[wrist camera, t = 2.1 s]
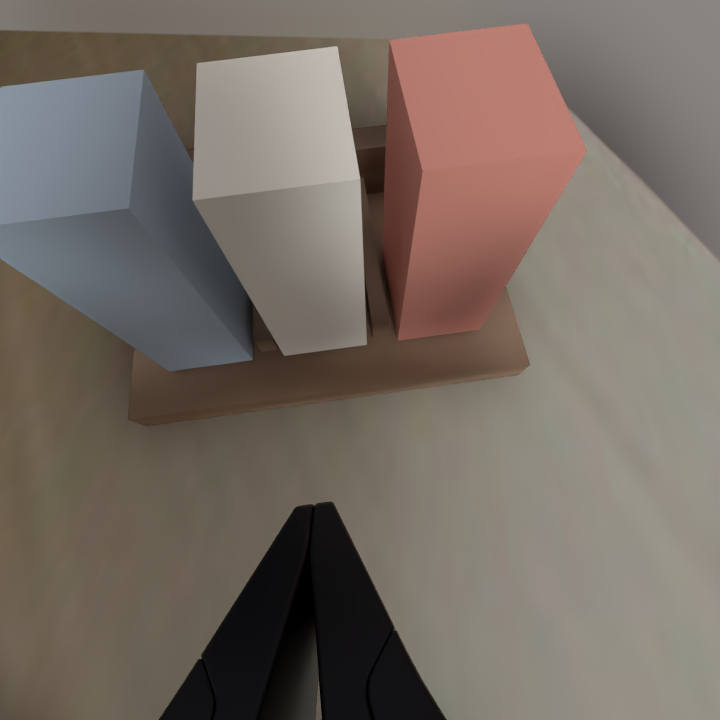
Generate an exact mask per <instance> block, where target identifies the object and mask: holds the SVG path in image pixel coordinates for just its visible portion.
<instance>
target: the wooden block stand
mask: <svg viewBox="0 0 720 720" xmlns="http://www.w3.org/2000/svg"><path fill="white" fill-rule="evenodd" d="M352 134H353V140H354V146H355V151H356V157H357V163H358V168H359V174H360V183H361V208H362V234H363V259H364V284H365V310H366V335H367V345H362V346H355V347H347V348H340V349H332V350H325V351H318V352H310V353H303V354H295V355H288V356H284V355H283V353H282V351H281V350H280V348H279V346H278V345H277V343H276V341H275V339H274V338H273V336H272V334H271V333H270V331H269V329H268V328H267V326H266V324H265V323H264V321H263V319H262V317H261V316H260V314H259V312H258V311H257V309H256V307H255V306H254V304H253V302H252V301H251V313H252V342H253V360H250V361H243V362H235V363H228V364H220V365H213V366H205V367H198V368H191V369H183V370H176V371H168V370H167V369H165V368H164V367H162V366H161V365H159V364H158V363H156V362H155V361H153V360H152V359H150V358H149V357H147V356H146V355H144V354H143V353H141V352H140V351H138V350H137V349H135V348H134V355H133V367H132V378H131V389H130V401H129V412H128V420H131V421H134V422H137V423H139V424H142V425H145V426H148V425H155V424H162V423H170V422H177V421H184V420H192V419H199V418H206V417H214V416H221V415H228V414H235V413H243V412H250V411H257V410H265V409H272V408H279V407H287V406H294V405H301V404H308V403H316V402H323V401H330V400H338V399H345V398H352V397H360V396H367V395H374V394H381V393H389V392H396V391H403V390H411V389H418V388H425V387H432V386H440V385H447V384H454V383H462V382H469V381H476V380H484V379H491V378H498V377H505V376H513V375H519V374H520V373H521V372H522V371H523V370H524V369H525V368H527V367H528V366H529V365H530V363H529V360H528V357H527V354H526V350H525V347H524V344H523V341H522V338H521V334H520V331H519V328H518V325H517V322H516V318H515V315H514V312H513V309H512V306H511V302H510V299H509V296H508V293H507V290H506V287H505V288H504V290H503V292H502V293H501V295H500V297H499V298H498V300H497V302H496V303H495V305H494V307H493V308H492V310H491V312H490V313H489V315H488V317H487V318H486V320H485V322H484V323H483V325H482V327H481V328H480V330H474V331H467V332H459V333H452V334H445V335H437V336H430V337H422V338H415V339H407V340H400V341H398V340H397V334H396V329H395V323H394V318H393V312H392V307H391V301H390V296H389V291H388V285H387V280H386V274H385V269H384V263H383V258H382V240H383V211H384V182H385V153H386V125H381V126H373V127H365V128H357V129H352ZM186 151H187V153H188V155H189V157H190V159H191V160H192V162H193V164H194V149H189V150H186Z"/></svg>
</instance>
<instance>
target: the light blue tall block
mask: <svg viewBox="0 0 720 720" xmlns="http://www.w3.org/2000/svg"><path fill="white" fill-rule="evenodd" d="M193 167H194V164H193V162H192V160H191V159H190V157H189V155H188V153H187V151H186V149H185V147H184V145H183V143H182V141H181V139H180V138H179V136H178V134H177V132H176V130H175V128H174V126H173V124H172V122H171V120H170V118H169V117H168V115H167V113H166V111H165V109H164V107H163V105H162V103H161V101H160V99H159V98H158V96H157V94H156V92H155V90H154V88H153V86H152V84H151V82H150V80H149V78H148V77H147V75H146V73H145V71H144V70H137V71H128V72H120V73H112V74H104V75H95V76H87V77H79V78H71V79H62V80H54V81H46V82H38V83H29V84H21V85H13V86H5V87H1V89H0V259H2V260H3V261H5V262H6V263H8V264H9V265H11V266H12V267H14V268H15V269H17V270H18V271H20V272H21V273H23V274H24V275H26V276H27V277H29V278H30V279H32V280H33V281H35V282H36V283H38V284H39V285H41V286H42V287H44V288H45V289H47V290H48V291H50V292H51V293H53V294H54V295H56V296H57V297H59V298H60V299H62V300H63V301H65V302H66V303H68V304H69V305H71V306H72V307H74V308H75V309H77V310H78V311H80V312H81V313H83V314H84V315H86V316H87V317H89V318H90V319H92V320H93V321H95V322H96V323H98V324H99V325H101V326H102V327H104V328H105V329H107V330H108V331H110V332H111V333H113V334H114V335H116V336H117V337H119V338H120V339H122V340H123V341H125V342H126V343H128V344H129V345H131V346H132V347H134V348H135V349H137V350H138V351H140V352H141V353H143V354H144V355H146V356H147V357H149V358H150V359H152V360H153V361H155V362H156V363H158V364H159V365H161V366H162V367H164V368H165V369H167V370H168V371H176V370H183V369H191V368H198V367H205V366H213V365H220V364H228V363H235V362H243V361H250V360H253V342H252V313H251V299H250V297H249V295H248V294H247V292H246V290H245V289H244V287H243V285H242V284H241V282H240V280H239V278H238V277H237V275H236V273H235V272H234V270H233V268H232V267H231V265H230V263H229V262H228V260H227V258H226V256H225V255H224V253H223V251H222V250H221V248H220V246H219V245H218V243H217V241H216V240H215V238H214V236H213V234H212V233H211V231H210V229H209V228H208V226H207V224H206V223H205V221H204V219H203V218H202V216H201V214H200V212H199V211H198V209H197V207H196V206H195V204H194V202H193V201H192V198H193Z"/></svg>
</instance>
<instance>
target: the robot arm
mask: <svg viewBox="0 0 720 720" xmlns="http://www.w3.org/2000/svg"><path fill="white" fill-rule="evenodd" d="M201 657H202V659H198V661H197V662H196V664H195V665H194V667H193V669H192V670H191V672H190V673H189V675H188V676H187V678H186V680H185V681H184V683H183V684H182V686H181V687H180V689H179V690H178V692H177V693H176V695H175V696H174V698H173V699H172V701H171V702H170V704H169V705H168V707H167V708H166V710H165V711H164V713H163V714H162V716H161V717H160V718H159V720H315V716H316V703H317V691H318V678H319V685H320V699H321V712H322V720H447V719H446V718H445V716H444V715H443V713H442V712H441V710H440V708H439V707H438V705H437V703H436V702H435V700H434V698H433V697H432V695H431V694H430V692H429V690H428V689H427V687H426V685H425V684H424V682H423V680H422V679H421V677H420V675H419V673H418V671H417V669H416V667H415V666H414V664H413V662H412V660H411V658H410V656H409V654H408V652H407V651H406V649H405V647H404V645H403V643H402V641H401V639H400V637H399V634H398V632H397V631H396V630H395V627H394V625H393V623H392V621H391V619H390V617H389V615H388V613H387V611H386V609H385V606H384V604H383V602H382V600H381V598H380V596H379V594H378V592H377V590H376V588H375V586H374V584H373V582H372V580H371V578H370V576H369V574H368V572H367V570H366V568H365V566H364V564H363V562H362V560H361V558H360V556H359V554H358V552H357V550H356V548H355V546H354V544H353V541H352V539H351V537H350V535H349V533H348V531H347V529H346V527H345V525H344V523H343V521H342V519H341V517H340V515H339V513H338V511H337V509H336V507H335V505H334V503H333V502H324V503H317V504H316V505H315V506H314V505H312V504H309V505H302V506H297V507H296V508H295V509H294V510H293V512H292V513H291V515H290V516H289V518H288V520H287V521H286V523H285V524H284V526H283V527H282V529H281V531H280V532H279V534H278V535H277V537H276V538H275V540H274V542H273V543H272V545H271V546H270V548H269V549H268V551H267V553H266V554H265V556H264V557H263V559H262V560H261V562H260V564H259V565H258V567H257V568H256V570H255V571H254V573H253V575H252V576H251V578H250V579H249V581H248V582H247V584H246V586H245V587H244V589H243V590H242V592H241V593H240V595H239V597H238V598H237V600H236V601H235V603H234V604H233V606H232V608H231V609H230V611H229V612H228V614H227V615H226V617H225V619H224V620H223V622H222V623H221V625H220V626H219V628H218V630H217V631H216V633H215V634H214V636H213V637H212V639H211V641H210V642H209V644H208V645H207V647H206V648H205V650H204V652H203V653H202V655H201Z"/></svg>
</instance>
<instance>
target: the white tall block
mask: <svg viewBox="0 0 720 720" xmlns="http://www.w3.org/2000/svg"><path fill="white" fill-rule="evenodd" d="M192 201H193V202H194V204H195V206H196V207H197V209H198V211H199V212H200V214H201V216H202V218H203V219H204V221H205V223H206V224H207V226H208V228H209V229H210V231H211V233H212V234H213V236H214V238H215V240H216V241H217V243H218V245H219V246H220V248H221V250H222V251H223V253H224V255H225V256H226V258H227V260H228V262H229V263H230V265H231V267H232V268H233V270H234V272H235V273H236V275H237V277H238V278H239V280H240V282H241V284H242V285H243V287H244V289H245V290H246V292H247V294H248V295H249V297H250V299H251V301H252V302H253V304H254V306H255V307H256V309H257V311H258V312H259V314H260V316H261V317H262V319H263V321H264V323H265V324H266V326H267V328H268V329H269V331H270V333H271V334H272V336H273V338H274V339H275V341H276V343H277V345H278V346H279V348H280V350H281V351H282V353H283V355H284V356H288V355H295V354H303V353H310V352H318V351H325V350H332V349H340V348H347V347H355V346H362V345H367V335H366V310H365V284H364V259H363V234H362V208H361V183H360V174H359V168H358V163H357V157H356V151H355V146H354V140H353V134H352V128H351V123H350V117H349V111H348V105H347V100H346V94H345V88H344V82H343V77H342V71H341V65H340V59H339V54H338V48H337V46H336V47H328V48H319V49H311V50H303V51H295V52H286V53H278V54H270V55H262V56H253V57H245V58H237V59H229V60H220V61H212V62H204V63H197V75H196V106H195V137H194V167H193V198H192Z"/></svg>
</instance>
